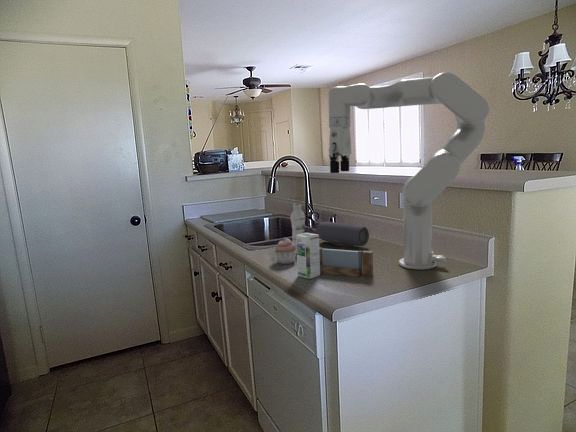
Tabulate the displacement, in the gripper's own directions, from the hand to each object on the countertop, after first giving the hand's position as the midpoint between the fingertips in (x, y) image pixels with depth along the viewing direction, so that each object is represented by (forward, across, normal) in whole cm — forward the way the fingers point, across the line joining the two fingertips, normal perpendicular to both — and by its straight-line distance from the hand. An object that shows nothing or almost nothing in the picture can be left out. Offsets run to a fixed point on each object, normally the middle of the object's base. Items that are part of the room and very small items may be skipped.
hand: (339, 172), depth 137 cm
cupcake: (+35, -7, +20) cm, 40 cm away
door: (+34, -11, -5) cm, 36 cm away
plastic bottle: (+35, +11, +23) cm, 43 cm away
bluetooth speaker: (+34, +25, +9) cm, 43 cm away
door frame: (+34, -12, -4) cm, 36 cm away
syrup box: (+34, -18, +4) cm, 39 cm away
